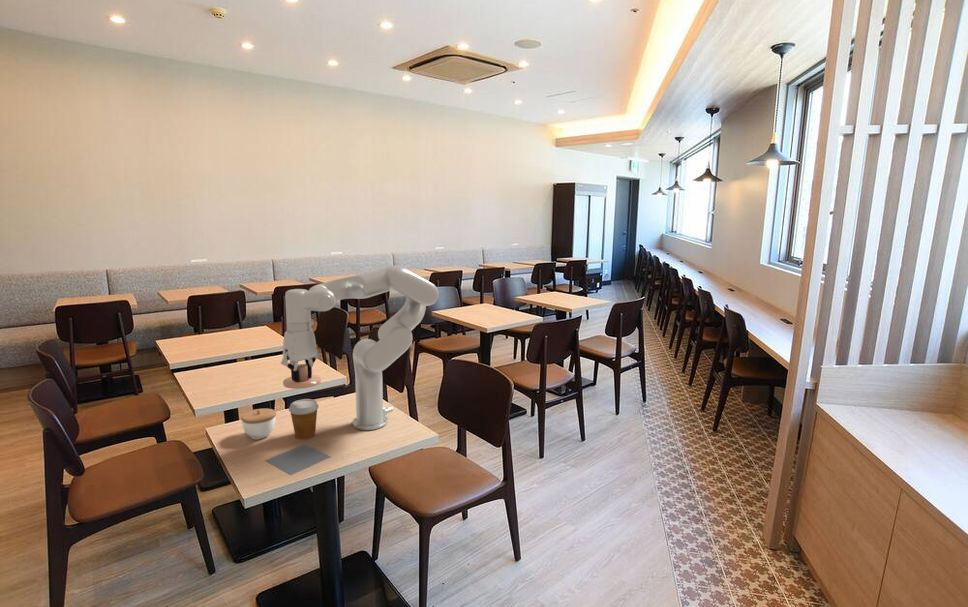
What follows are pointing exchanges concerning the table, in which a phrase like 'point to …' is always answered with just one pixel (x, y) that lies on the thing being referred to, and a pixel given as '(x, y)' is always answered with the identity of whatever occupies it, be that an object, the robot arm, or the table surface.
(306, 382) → the lid
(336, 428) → the table surface
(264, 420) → the lidded jar
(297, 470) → the mat
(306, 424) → the disposable coffee cup
